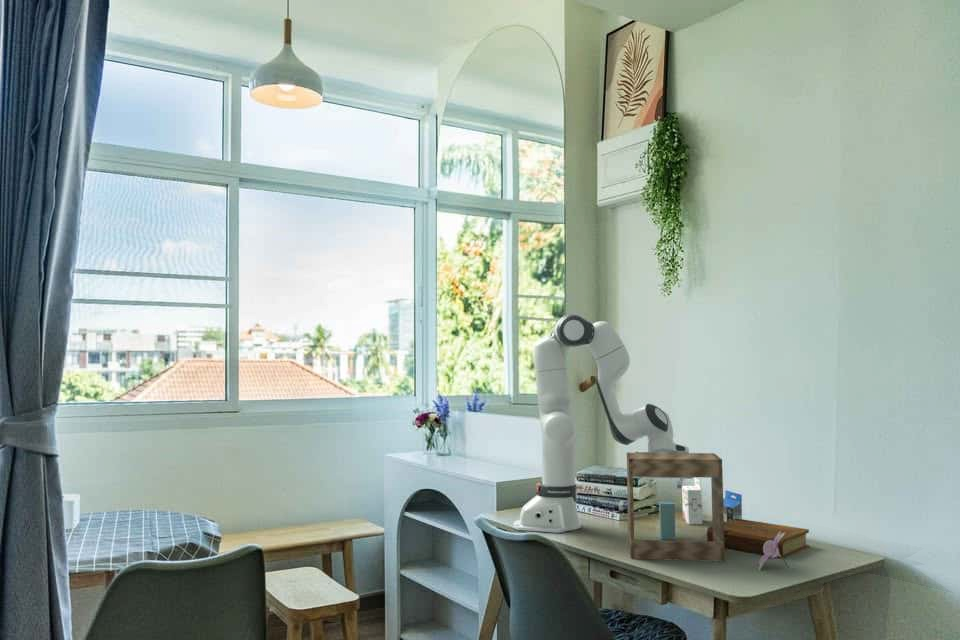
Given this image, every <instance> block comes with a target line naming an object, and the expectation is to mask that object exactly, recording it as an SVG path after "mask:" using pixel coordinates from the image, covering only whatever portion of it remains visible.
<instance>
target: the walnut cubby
mask: <svg viewBox="0 0 960 640" xmlns="http://www.w3.org/2000/svg"><path fill="white" fill-rule="evenodd" d="M723 474H724V473H723V458H721V457H720V456H718V455H717V454H715V452H714V453H713V452H709V453H708V452H689V453H635V452H626V481H627V483H626V486H627V487H626V488H627V493H626V494H627V531H628V533H627V535H628V538H627V539H628V541H627V542H628V550H629V556H630V559H634V560H635V559H637V560H638V559H639V560H664V559H672V560H673V561H675V560H674V559H677V560H676V561H679V560H678V559H681V560H680V561H700V560H717V561H716V562H725V560H726V559H725V557H726V556H725V551H726V550H725V548H724V512H723V499H724V483H723V481H724V479H723ZM643 477H693V478H694V477H695V478H710V479H711V481H710V482H711V519H712V523H711V527H713V542H707V540H706V541H704V540H703V541H700V540H699V541H698V540H697V541H696V540H661V539H657V540H656V539H635V519H634V518H635V517H634V515H635V512H634V511H635V510H634V506H635V505H634V478H643Z"/></svg>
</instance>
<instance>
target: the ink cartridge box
mask: <svg viewBox="0 0 960 640" xmlns="http://www.w3.org/2000/svg"><path fill="white" fill-rule="evenodd" d="M693 478H694V479H693V480H694V485H682V489H681V497H682V520H683V519H684V520H685V521H686V522H685V521H684V520H683V521H684V522H685V523H686V524H687V525H689V524H690V525H703V505H702V504H703V502H702V499H703V498H702V485H701V481H700V480H699V479H698V477H693Z"/></svg>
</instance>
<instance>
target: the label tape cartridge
mask: <svg viewBox="0 0 960 640" xmlns="http://www.w3.org/2000/svg"><path fill="white" fill-rule="evenodd" d="M724 491H725V492H724V493H725V497H723V512H724V522H727V521H730V520H733V519H736V518H737V519H743V512H742V511H743V503H742V501H743V497H742V496H743V495H742V494H740V493H737V492H734V491H729V490H724ZM732 496H733V497H732Z"/></svg>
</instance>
